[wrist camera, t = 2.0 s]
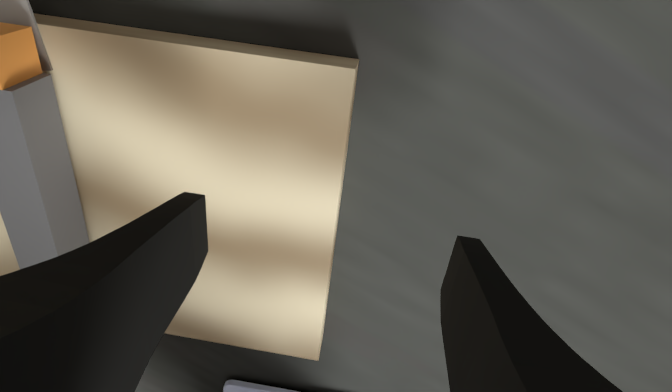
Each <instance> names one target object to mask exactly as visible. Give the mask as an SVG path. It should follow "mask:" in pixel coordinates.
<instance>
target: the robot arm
mask: <svg viewBox="0 0 672 392" xmlns="http://www.w3.org/2000/svg"><path fill="white" fill-rule="evenodd" d="M207 253H208V235H207V218H206V201H205V195H202V194H196V193H189V192H183V193H181V194H179V195H177V196H175V197H174V198H172V199H170V200H168V201H166V202H165V203H163V204H161V205H160V206H158V207H156V208H154V209H153V210H151V211H149V212H147V213H146V214H144V215H142V216H140V217H138V218H137V219H135V220H133V221H131V222H130V223H128V224H126V225H124V226H122V227H120V228H118V229H116V230H114V231H112V232H110V233H108V234H106V235H104V236H102V237H100V238H98V239H96V240H94V241H92V242H90V243H88V244H86V245H84V246H81V247H79V248H77V249H74V250H72V251H69V252H67V253H65V254H62V255H60V256H57V257H55V258H52V259H49V260H47V261H44V262H41V263H38V264H35V265H32V266H29V267H26V268H23V269H20V270H17V271H14V272H11V273H8V274H5V275H1V276H0V392H135V389H136V387H137V385H138V383H139V381H140V379H141V376H142V374H143V372H144V370H145V368H146V366H147V364H148V362H149V359H150V357H151V355H152V354H153V352H154V350H155V348H156V346H157V344H158V343H159V341H160V339H161V338H162V336H163V334H164V333H165V331H166V329H167V328H168V326H169V324H170V323H171V321H172V320H173V318H174V316H175V315H176V313H177V311H178V310H179V308H180V306H181V305H182V303H183V301H184V300H185V298H186V296H187V295H188V293H189V291H190V290H191V288H192V286H193V284H194V283H195V281H196V279H197V277H198V275H199V272H200V270H201V268H202V265H203V263H204V260H205V258H206V256H207ZM441 327H442V335H443V343H444V350H445V357H446V364H447V371H448V378H449V385H450V392H622V391H621V390H620V389H619V388H617V387H616V386H615V385H613V384H612V383H611V382H610V381H608V380H607V379H606V378H605V377H603V376H602V375H601V374H600V373H599V372H598V371H596V370H595V369H594V368H593V367H592V366H590V365H589V364H588V363H587V362H586V361H585V360H583V359H582V358H581V357H580V356H579V355H578V354H577V353H576V352H575V351H573V350H572V349H571V348H570V347H569V346H568V345H567V344H566V343H565V342H564V341H563V340H562V339H561V338H560V337H559V336H558V335H557V334H556V333H555V332H554V331H553V330H552V329H551V328H550V327H549V326H548V325H547V324H546V323H545V322H544V321H543V320H542V319H541V317H540V316H539V315H538V314H537V313H536V312H535V311H534V309H533V308H532V307H531V306H530V305H529V304H528V303H527V301H526V300H525V299H524V298H523V297H522V295H521V294H520V293H519V292H518V290H517V289H516V288H515V287H514V285H513V284H512V283H511V281H510V280H509V279H508V278H507V276H506V275H505V274H504V272H503V271H502V269H501V268H500V267H499V265H498V264H497V263H496V261H495V260H494V258H493V257H492V256H491V254H490V253H489V251H488V250H487V249H486V247H485V246H484V244H483V243H482V242H481V240H480V239H476V238H470V237H463V236H457V239H456V242H455V245H454V248H453V252H452V255H451V258H450V261H449V264H448V268H447V271H446V274H445V277H444V281H443V284H442V287H441ZM223 392H299V391H294V390H288V389H283V388H277V387H272V386H266V385H261V384H255V383H250V382H244V381H239V380H232V379H231V380H227V381H226V382H225V385H224V387H223Z"/></svg>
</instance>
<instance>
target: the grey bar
mask: <svg viewBox="0 0 672 392" xmlns="http://www.w3.org/2000/svg"><path fill="white" fill-rule="evenodd" d="M0 213H1V216H2V219H3V222H4V225H5V227H6V230H7V233H8V236H9V239H10V242H11V245H12V248H13V251H14V254H15V256H16V259H17V262H18V265H19V268H20V269H23V268H26V267H29V266H32V265H35V264H38V263H41V262H44V261H47V260H49V259H52V258H55V257H57V256H60V255H62V254H65V253H67V252H69V251H72V250H74V249H77V248H79V247H81V246H84V245H86V244H88V243H90V242H89V238H88V233H87V229H86V224H85V220H84V216H83V211H82V207H81V203H80V198H79V194H78V190H77V185H76V181H75V176H74V172H73V168H72V163H71V159H70V155H69V150H68V146H67V142H66V137H65V133H64V128H63V124H62V120H61V115H60V111H59V107H58V102H57V98H56V93H55V89H54V85H53V80H52V76H51V74H45V73H42V69H41V64H40V60H39V56H38V52H37V48H36V43H35V39H34V35H33V31H32V27H30V26H23V25H16V24H9V23H2V22H0Z"/></svg>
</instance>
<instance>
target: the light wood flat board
mask: <svg viewBox="0 0 672 392" xmlns="http://www.w3.org/2000/svg"><path fill="white" fill-rule="evenodd" d="M0 22H2V23H9V24H16V25H23V26H30V27H32V31H33V35H34V39H35V43H36V48H37V52H38V56H39V60H40V64H41V69H42V73H45V74H51V76H52V80H53V85H54V89H55V93H56V98H57V102H58V107H59V111H60V115H61V120H62V124H63V128H64V133H65V137H66V142H67V146H68V150H69V155H70V159H71V163H72V168H73V172H74V176H75V181H76V185H77V190H78V194H79V198H80V203H81V207H82V211H83V216H84V220H85V224H86V229H87V233H88V238H89V242H92V241H94V240H96V239H98V238H100V237H102V236H104V235H106V234H108V233H110V232H112V231H114V230H116V229H118V228H120V227H122V226H124V225H126V224H128V223H130V222H131V221H133V220H135V219H137V218H138V217H140V216H142V215H144V214H146V213H147V212H149V211H151V210H153V209H154V208H156V207H158V206H160V205H161V204H163V203H165V202H166V201H168V200H170V199H172V198H174V197H175V196H177V195H179V194H181V193H183V192H189V193H196V194H202V195H205V201H206V218H207V235H208V253H207V256H206V258H205V260H204V263H203V265H202V268H201V270H200V272H199V275H198V277H197V279H196V281H195V283H194V284H193V286H192V288H191V290H190V291H189V293H188V295H187V296H186V298H185V300H184V301H183V303H182V305H181V306H180V308H179V310H178V311H177V313H176V315H175V316H174V318H173V320H172V321H171V323H170V324H169V326H168V328H167V329H166V331H165V334H171V335H177V336H182V337H188V338H194V339H199V340H205V341H210V342H216V343H222V344H227V345H233V346H238V347H244V348H250V349H255V350H261V351H267V352H272V353H278V354H283V355H289V356H295V357H300V358H306V359H311V360H317V361H318V360H319V355H320V350H321V344H322V339H323V331H324V323H325V316H326V308H327V300H328V293H329V285H330V278H331V270H332V262H333V255H334V247H335V239H336V232H337V224H338V216H339V209H340V201H341V194H342V186H343V178H344V171H345V163H346V155H347V148H348V140H349V133H350V125H351V117H352V110H353V102H354V94H355V87H356V79H357V72H358V64H359V59H354V58H347V57H340V56H332V55H325V54H318V53H311V52H304V51H297V50H290V49H283V48H276V47H269V46H262V45H255V44H247V43H240V42H233V41H226V40H219V39H212V38H205V37H198V36H191V35H184V34H177V33H170V32H163V31H155V30H148V29H141V28H134V27H127V26H120V25H113V24H106V23H99V22H92V21H85V20H78V19H71V18H63V17H56V16H49V15H42V14H35V13H33V11H32V8H31V5H30V3H29V0H0ZM17 270H20V268H19V265H18V262H17V259H16V256H15V254H14V251H13V248H12V245H11V242H10V239H9V236H8V233H7V230H6V227H5V225H4V222H3V219H2V216H1V213H0V276H1V275H5V274H8V273H11V272H14V271H17Z"/></svg>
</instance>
